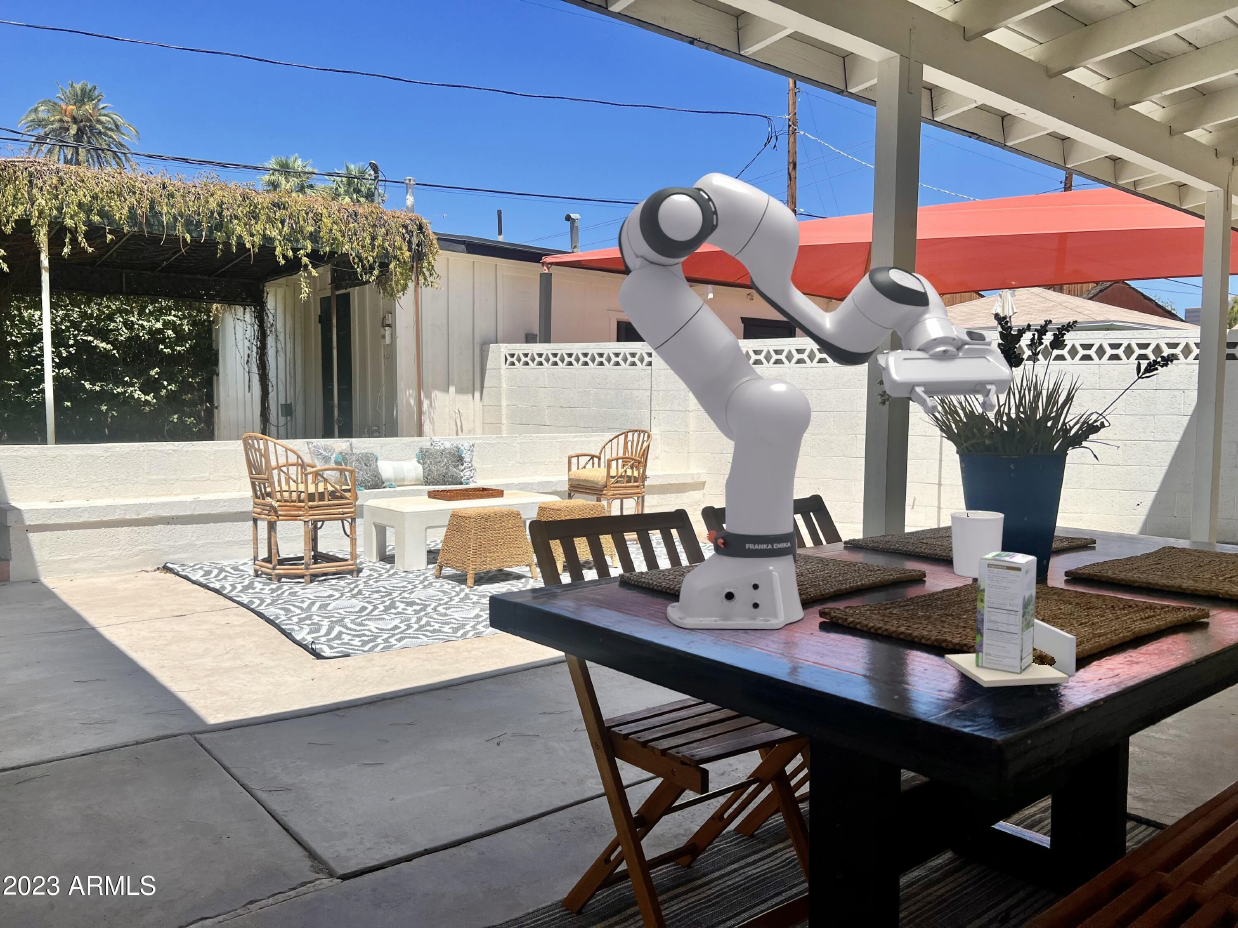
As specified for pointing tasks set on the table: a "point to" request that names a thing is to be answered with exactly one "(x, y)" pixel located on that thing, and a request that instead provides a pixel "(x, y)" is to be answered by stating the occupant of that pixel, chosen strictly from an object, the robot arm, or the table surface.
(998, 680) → the sand mat
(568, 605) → the table surface
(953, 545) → the candle holder
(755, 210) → the robot arm
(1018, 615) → the syrup box
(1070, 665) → the low wall
